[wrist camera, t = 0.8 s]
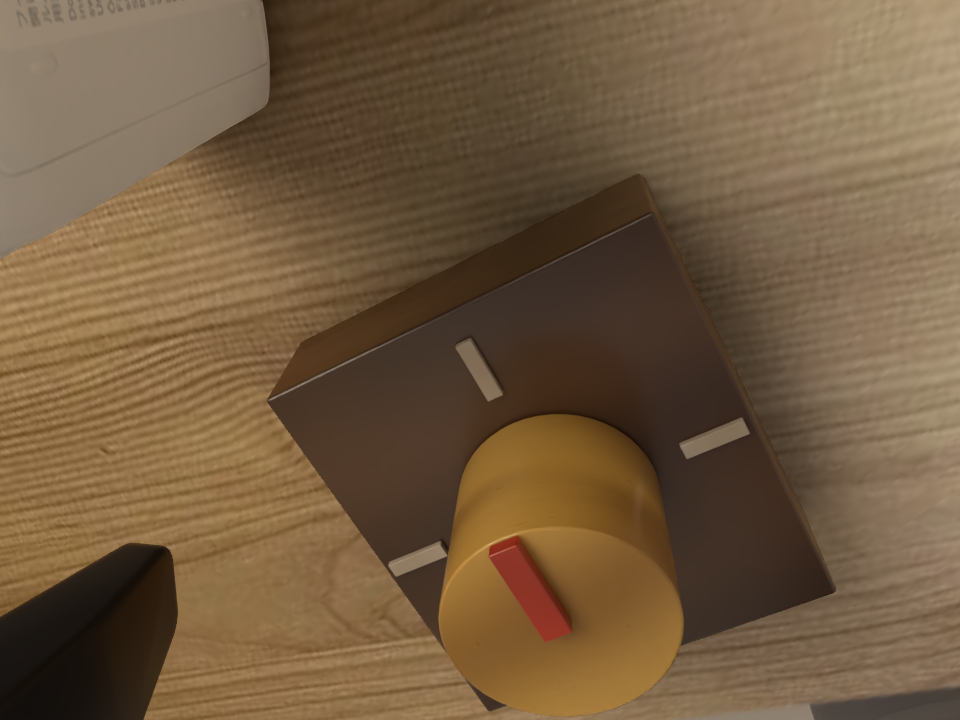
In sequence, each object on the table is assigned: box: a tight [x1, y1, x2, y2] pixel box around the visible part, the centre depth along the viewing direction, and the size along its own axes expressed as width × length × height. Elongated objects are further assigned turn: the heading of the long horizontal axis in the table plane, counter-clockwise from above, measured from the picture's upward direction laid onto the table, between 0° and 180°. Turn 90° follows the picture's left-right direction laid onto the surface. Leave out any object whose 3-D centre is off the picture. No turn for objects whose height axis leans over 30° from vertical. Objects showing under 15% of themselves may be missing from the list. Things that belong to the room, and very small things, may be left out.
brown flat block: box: [267, 174, 836, 711], centre depth 21 cm, size 10×9×3 cm
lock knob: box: [438, 414, 684, 717], centre depth 18 cm, size 4×4×4 cm
